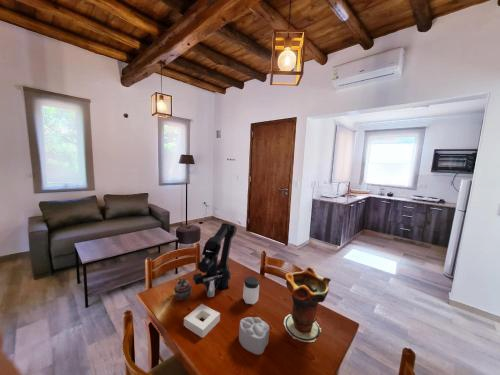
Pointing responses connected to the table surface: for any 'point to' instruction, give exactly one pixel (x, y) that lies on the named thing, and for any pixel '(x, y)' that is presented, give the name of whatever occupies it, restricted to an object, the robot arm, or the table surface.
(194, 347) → the table surface
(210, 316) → the socket block
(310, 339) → the decorative vase
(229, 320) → the table surface
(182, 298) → the cupcake
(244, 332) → the lumpy-topped squat cylinder
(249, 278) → the jar
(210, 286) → the peg
